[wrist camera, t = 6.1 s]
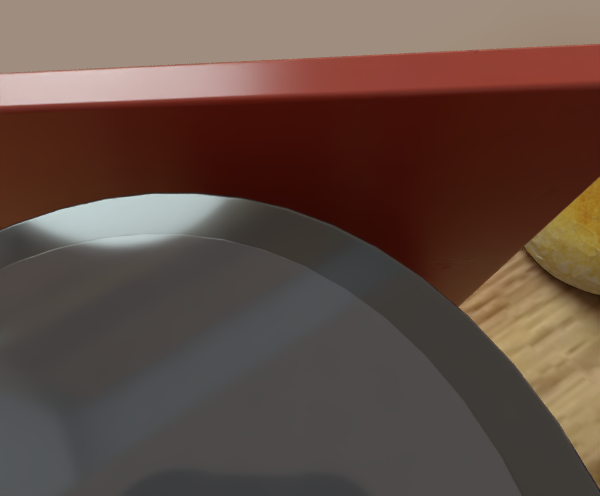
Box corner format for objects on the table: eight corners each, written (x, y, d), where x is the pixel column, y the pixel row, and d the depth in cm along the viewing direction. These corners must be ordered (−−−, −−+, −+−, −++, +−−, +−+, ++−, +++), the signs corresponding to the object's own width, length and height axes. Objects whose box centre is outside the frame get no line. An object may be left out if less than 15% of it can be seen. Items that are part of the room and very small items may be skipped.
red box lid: (710, 79, 4) (687, 34, 4) (-256, 120, 4) (-227, 81, 5) (435, 329, 13) (433, 311, 14) (147, 327, 14) (150, 311, 14)
